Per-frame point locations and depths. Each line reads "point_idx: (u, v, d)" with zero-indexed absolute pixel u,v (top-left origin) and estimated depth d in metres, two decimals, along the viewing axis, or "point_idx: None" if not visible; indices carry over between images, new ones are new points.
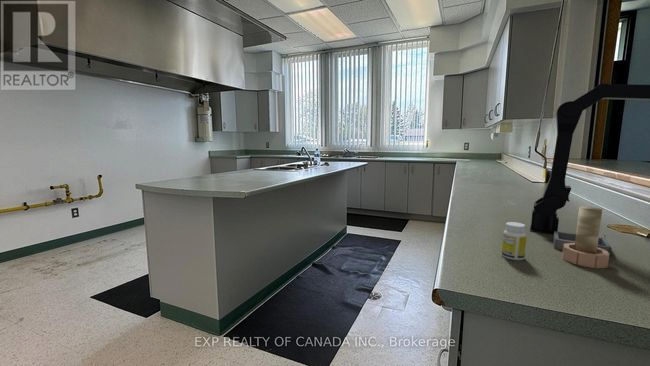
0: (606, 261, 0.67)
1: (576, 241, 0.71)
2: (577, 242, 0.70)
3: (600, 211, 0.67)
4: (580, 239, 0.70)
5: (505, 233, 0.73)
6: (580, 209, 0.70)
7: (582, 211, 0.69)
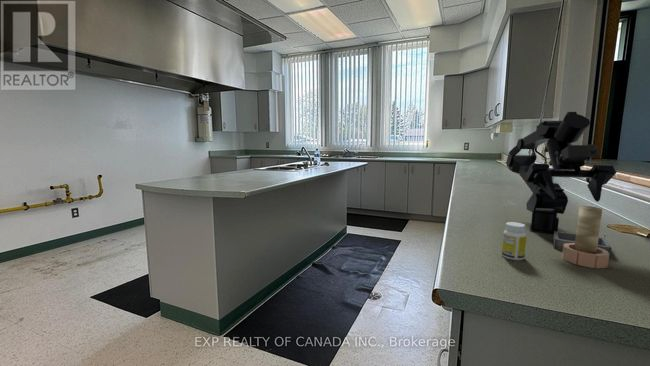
0: (606, 261, 0.67)
1: (576, 241, 0.71)
2: (577, 242, 0.70)
3: (600, 211, 0.67)
4: (580, 239, 0.70)
5: (505, 233, 0.73)
6: (580, 209, 0.70)
7: (582, 211, 0.69)
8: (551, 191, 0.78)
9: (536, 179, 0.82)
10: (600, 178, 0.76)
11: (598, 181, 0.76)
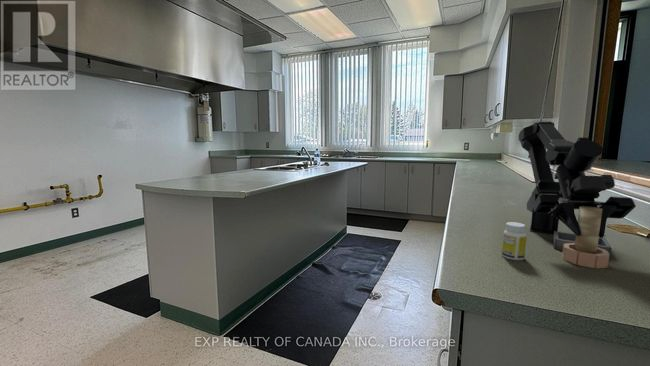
0: (606, 261, 0.67)
1: (576, 241, 0.71)
2: (577, 242, 0.70)
3: (600, 211, 0.67)
4: (580, 239, 0.70)
5: (505, 233, 0.73)
6: (580, 209, 0.70)
7: (582, 211, 0.69)
8: (574, 226, 0.70)
9: (556, 211, 0.74)
10: (604, 212, 0.69)
11: (602, 215, 0.69)
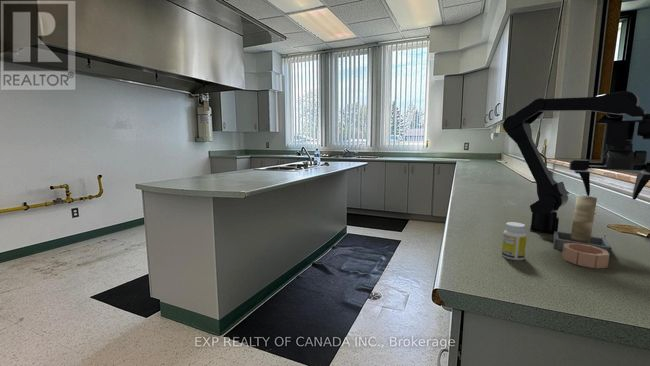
0: (606, 261, 0.67)
1: (574, 228, 0.79)
2: (576, 228, 0.78)
3: (596, 200, 0.76)
4: (579, 225, 0.78)
5: (505, 233, 0.73)
6: (579, 198, 0.78)
7: (581, 200, 0.77)
8: (585, 189, 0.84)
9: None
10: (645, 179, 0.76)
11: (641, 181, 0.76)
